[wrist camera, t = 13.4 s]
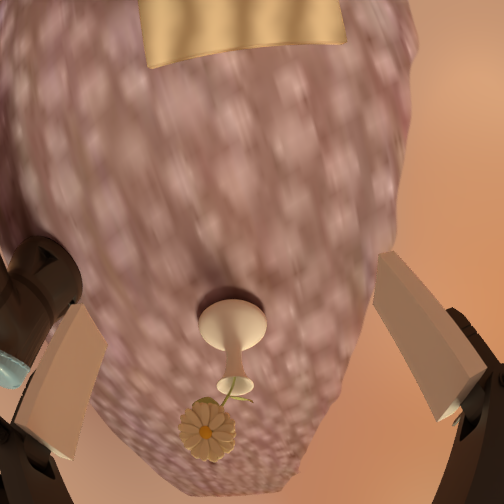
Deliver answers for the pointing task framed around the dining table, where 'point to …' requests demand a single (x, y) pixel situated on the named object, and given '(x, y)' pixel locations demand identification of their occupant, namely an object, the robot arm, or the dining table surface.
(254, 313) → the flower in vase
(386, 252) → the robot arm
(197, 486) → the dining table surface
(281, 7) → the display board
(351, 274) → the dining table surface
